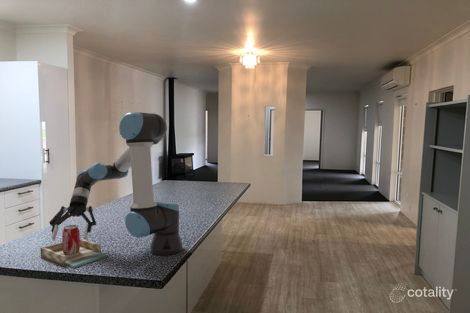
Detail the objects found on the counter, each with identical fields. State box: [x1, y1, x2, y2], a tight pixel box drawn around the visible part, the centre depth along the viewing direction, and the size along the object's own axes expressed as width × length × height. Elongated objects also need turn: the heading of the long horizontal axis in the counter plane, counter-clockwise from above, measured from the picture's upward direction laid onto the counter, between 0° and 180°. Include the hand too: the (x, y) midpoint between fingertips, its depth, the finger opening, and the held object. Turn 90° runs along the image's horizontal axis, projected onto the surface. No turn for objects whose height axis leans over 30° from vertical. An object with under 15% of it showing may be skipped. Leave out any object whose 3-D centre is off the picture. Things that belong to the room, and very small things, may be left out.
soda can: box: [61, 224, 81, 255], centre depth 157 cm, size 7×7×12 cm
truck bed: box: [40, 238, 108, 269], centre depth 155 cm, size 24×18×4 cm
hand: (69, 238), depth 154 cm, fingers open, 13 cm apart
